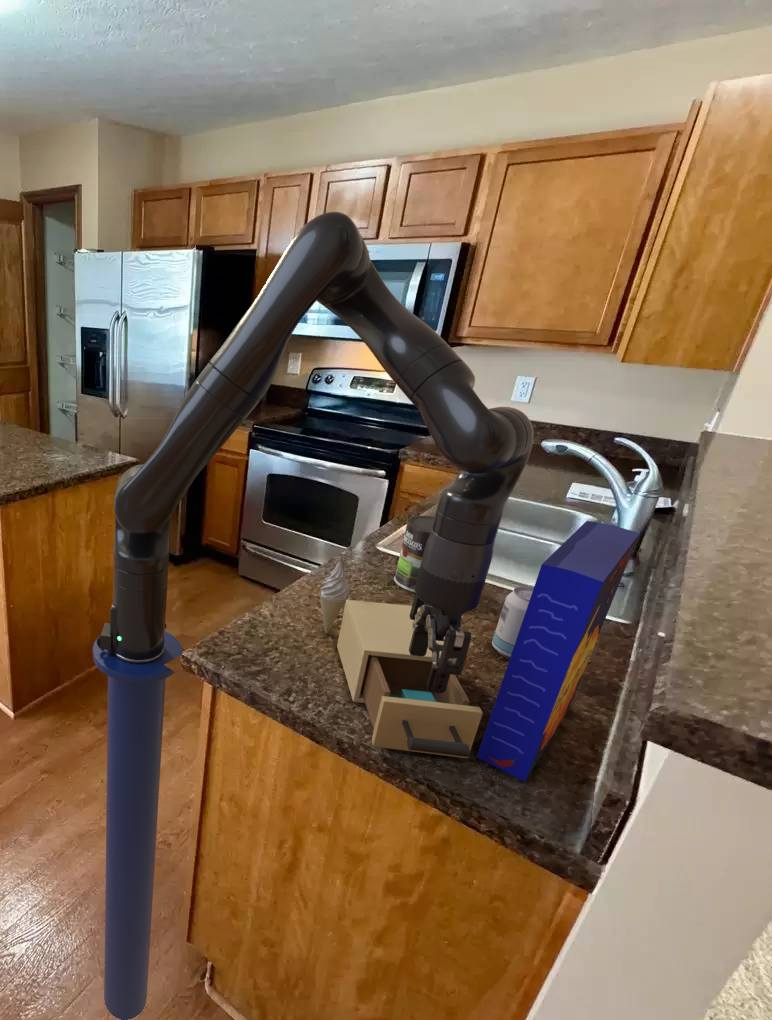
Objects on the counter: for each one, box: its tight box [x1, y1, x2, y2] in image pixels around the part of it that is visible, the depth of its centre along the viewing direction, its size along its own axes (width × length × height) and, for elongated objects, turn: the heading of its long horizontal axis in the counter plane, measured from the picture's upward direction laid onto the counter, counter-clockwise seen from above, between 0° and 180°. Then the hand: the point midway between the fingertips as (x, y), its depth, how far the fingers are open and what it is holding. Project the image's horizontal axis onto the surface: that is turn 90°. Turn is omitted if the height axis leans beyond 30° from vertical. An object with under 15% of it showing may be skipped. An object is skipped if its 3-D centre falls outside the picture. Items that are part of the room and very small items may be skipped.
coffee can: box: [393, 515, 435, 594], centre depth 127 cm, size 10×10×14 cm
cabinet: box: [336, 599, 457, 704], centre depth 97 cm, size 16×14×10 cm
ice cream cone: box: [318, 560, 351, 634], centre depth 108 cm, size 5×5×15 cm
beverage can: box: [491, 586, 534, 660], centre depth 104 cm, size 7×7×12 cm
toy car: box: [390, 689, 438, 702], centre depth 85 cm, size 4×7×4 cm, turn 82°
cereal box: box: [476, 520, 641, 783], centre depth 81 cm, size 22×6×30 cm, turn 133°
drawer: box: [361, 655, 484, 759], centre depth 84 cm, size 20×12×8 cm, turn 171°
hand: (425, 671), depth 82 cm, fingers open, 8 cm apart
